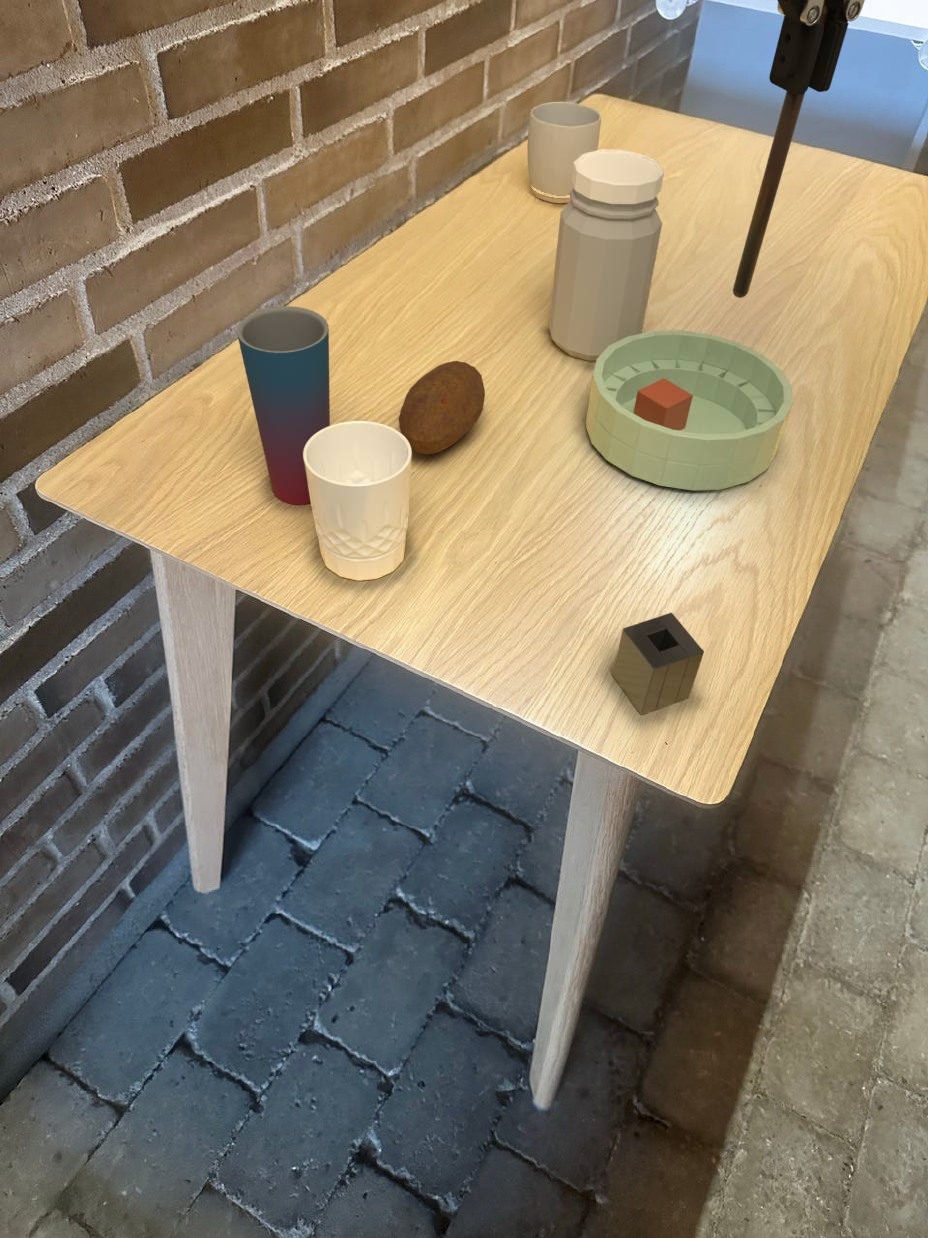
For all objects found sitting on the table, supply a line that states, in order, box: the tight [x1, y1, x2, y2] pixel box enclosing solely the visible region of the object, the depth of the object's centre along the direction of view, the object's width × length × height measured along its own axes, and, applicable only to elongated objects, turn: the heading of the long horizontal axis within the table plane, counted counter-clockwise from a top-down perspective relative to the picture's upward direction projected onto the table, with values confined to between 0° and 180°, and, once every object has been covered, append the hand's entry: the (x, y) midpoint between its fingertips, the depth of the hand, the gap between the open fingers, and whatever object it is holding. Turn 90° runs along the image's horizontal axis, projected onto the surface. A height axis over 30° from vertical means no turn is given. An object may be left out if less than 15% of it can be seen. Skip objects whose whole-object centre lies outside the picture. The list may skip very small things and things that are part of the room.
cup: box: [236, 305, 331, 506], centre depth 76 cm, size 7×7×15 cm
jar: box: [548, 148, 665, 362], centre depth 93 cm, size 10×10×18 cm
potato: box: [398, 360, 486, 455], centre depth 84 cm, size 7×12×7 cm, turn 159°
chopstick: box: [732, 1, 829, 299], centre depth 66 cm, size 1×1×20 cm
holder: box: [612, 612, 705, 716], centre depth 65 cm, size 4×4×5 cm
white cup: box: [303, 420, 413, 582], centre depth 72 cm, size 8×8×10 cm
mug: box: [526, 101, 602, 204], centre depth 123 cm, size 13×9×10 cm
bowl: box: [585, 329, 794, 491], centre depth 86 cm, size 18×18×6 cm
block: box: [633, 378, 693, 431], centre depth 87 cm, size 4×4×4 cm
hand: (798, 85), depth 62 cm, fingers closed on chopstick, 1 cm apart
